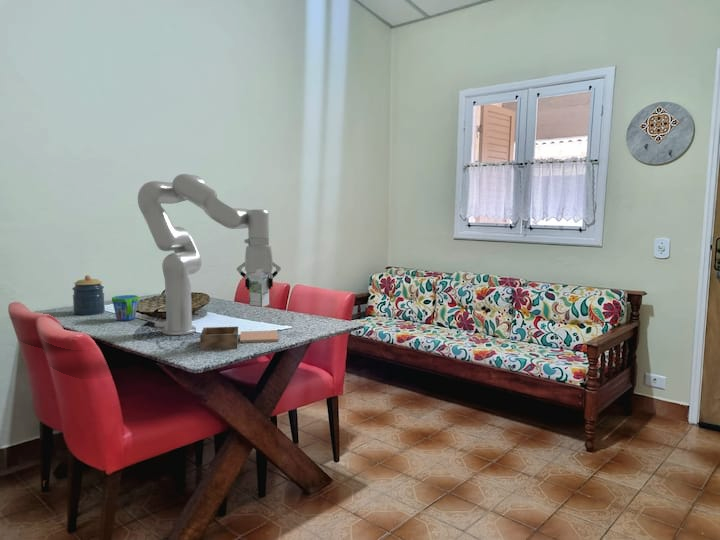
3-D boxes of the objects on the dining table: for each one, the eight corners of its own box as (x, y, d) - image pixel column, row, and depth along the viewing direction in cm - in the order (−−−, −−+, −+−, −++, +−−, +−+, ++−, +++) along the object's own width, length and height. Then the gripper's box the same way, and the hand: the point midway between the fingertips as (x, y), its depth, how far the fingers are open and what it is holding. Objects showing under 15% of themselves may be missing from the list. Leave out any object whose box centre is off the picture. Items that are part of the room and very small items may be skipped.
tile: (239, 342, 186) (239, 340, 185) (240, 333, 199) (240, 331, 199) (278, 341, 188) (278, 338, 188) (276, 332, 202) (276, 330, 202)
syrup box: (269, 304, 194) (269, 267, 193) (261, 307, 189) (261, 268, 187) (256, 303, 196) (256, 266, 194) (248, 306, 190) (248, 267, 189)
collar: (200, 349, 176) (200, 335, 175) (203, 340, 188) (203, 327, 187) (237, 348, 178) (237, 334, 178) (238, 339, 190) (238, 326, 190)
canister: (78, 310, 240) (76, 273, 238) (107, 309, 243) (106, 273, 241) (69, 316, 228) (67, 277, 226) (101, 315, 231) (99, 276, 229)
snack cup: (111, 317, 226) (110, 294, 225) (136, 315, 231) (135, 293, 230) (114, 324, 213) (113, 300, 211) (141, 321, 218) (140, 298, 217)
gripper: (234, 243, 184) (235, 290, 186) (282, 243, 188) (282, 290, 190) (235, 241, 192) (235, 288, 194) (281, 241, 195) (281, 287, 197)
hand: (259, 288), depth 192 cm, fingers closed on syrup box, 7 cm apart
